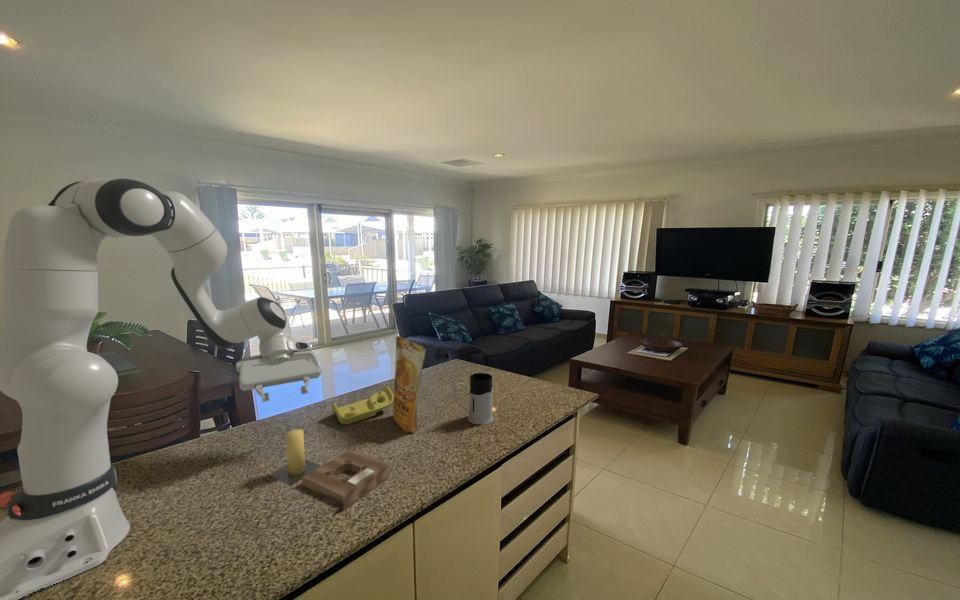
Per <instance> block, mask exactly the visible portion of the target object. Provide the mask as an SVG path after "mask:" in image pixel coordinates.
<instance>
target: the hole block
mask: <svg viewBox="0 0 960 600" xmlns="http://www.w3.org/2000/svg"><path fill="white" fill-rule="evenodd" d="M320 466H321V467H319V468H317V469H315V470H314V471H312V472H310V473H308V474H307V475H305V476H303V477H302V480H301V482H302V486H304V487H305V488H308V489H309V490H312V491H314V492H316V493H319V494H321V495H322V496H324V497H326V498H329V499H331V500H333V501H335V502H337V503H340V504H341V505H339V506H337V508H338V509H339V510H341V511H346V510H347V509H349V508H350V507H352V506H353V505H354V504H356V503H357V502H358V501H359V500H361V499H362V498H363V497H365V496H366V495H368V494H369V493H370V492H371V491H373V490H374V489H376V488H377V487H378V486H379V485H381V484H382V483H384V482H386V481H387V480H388V479H389V478H390V477H389V475H390V474H389V473H390V472H389V470H390V469H389V464H387V463H386V462H382V461H379V460H377V459H374V458H371V457H369V456H366V455H363V454H360V453H358V452H355V451H353V450H347V451H345V452H343V453H342V454H340V455H338V456H336V457H335V458H333V459H331V460H330V461H328V462H326V463H324V464H323V465H320ZM345 472H346V473H347V472H353V473H354V474H353V475H351V476H350V477H346V478H341V477H339V476H340V475H342V474H343V473H345Z"/></svg>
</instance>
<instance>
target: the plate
mask: <svg viewBox="0 0 960 600" xmlns="http://www.w3.org/2000/svg"><path fill="white" fill-rule="evenodd" d="M321 466H322V465H320V464H318V463H315V462H313V461H311V460H309V459H306V458H305V471H304V472H303V473H301V474H298V475H289V474H288V468H287V464H286V465H284V466H282V467H280V468H278V469H276V470H275V471H272V472H271V473H269V474H268V476H270V477H272V478H275V479H277V480H278V481H281V482H283V483H285V484H286V485H289V486H291V487H292V486H294V485H295V484H297V483H299V482H302V477H303V476H305V475H307V474H308V473H310V472H312V471H314V470H315V469H317V468H319V467H321Z"/></svg>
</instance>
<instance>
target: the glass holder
mask: <svg viewBox="0 0 960 600" xmlns="http://www.w3.org/2000/svg"><path fill="white" fill-rule="evenodd" d="M460 385H462V386H464V390H465V391H464V393H465V394H466V395H468V396H469V399H468V400H469V403H468V404H469V407H468V409H469V410H468V409H466V408H464V406H462V405H461V404H460V403H459V401H458V400H457V397H456V390H457V387H458V386H460ZM493 387H494V386H493V375H491V374H489V373H485V372H477V373H472V374H470V376H469V390H468V389H467V385H466V384H465V383H463V382H459V383H457V384H456V385H455V386H454V388H453V397H454V400H455V402H456V404H457V405H458V407H460V408H461V409H462V410H464V411H465V412H467V413H468V417H467V420H468V422H469V423H471V424H473V425H478V424H484V425H488V423H489V424H491V423H493V422H494V416H493V396H494V395H493V391H494V390H493ZM467 390H468V391H469V393H468V391H467ZM490 422H491V423H490Z"/></svg>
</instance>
